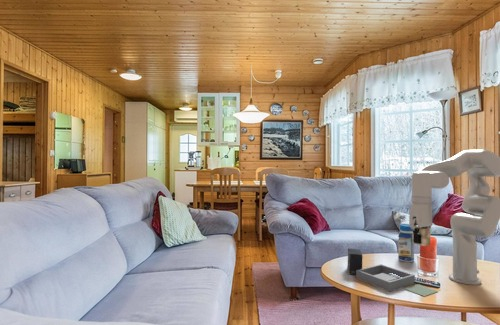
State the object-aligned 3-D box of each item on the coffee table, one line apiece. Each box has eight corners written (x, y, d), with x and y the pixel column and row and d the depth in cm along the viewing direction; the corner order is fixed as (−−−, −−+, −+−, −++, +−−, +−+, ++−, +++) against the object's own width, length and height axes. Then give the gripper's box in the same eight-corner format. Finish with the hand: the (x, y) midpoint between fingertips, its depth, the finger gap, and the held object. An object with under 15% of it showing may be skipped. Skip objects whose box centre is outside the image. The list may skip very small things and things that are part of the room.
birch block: (419, 242, 142) (419, 226, 142) (430, 244, 138) (430, 228, 138) (412, 243, 140) (412, 227, 140) (423, 246, 135) (423, 229, 135)
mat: (417, 284, 145) (417, 284, 145) (438, 291, 137) (438, 291, 137) (404, 289, 140) (404, 288, 140) (424, 296, 132) (424, 296, 132)
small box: (363, 276, 156) (363, 254, 156) (349, 275, 158) (349, 253, 158) (360, 268, 167) (360, 248, 167) (347, 268, 168) (347, 248, 168)
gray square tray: (380, 272, 162) (380, 264, 162) (414, 283, 146) (414, 275, 146) (356, 278, 153) (356, 270, 153) (389, 291, 137) (389, 282, 137)
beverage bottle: (417, 262, 179) (418, 226, 179) (404, 262, 177) (404, 226, 177) (407, 257, 187) (407, 223, 187) (394, 258, 186) (394, 223, 186)
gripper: (424, 198, 146) (424, 238, 146) (401, 200, 138) (401, 242, 138) (441, 200, 140) (441, 241, 140) (418, 202, 131) (417, 247, 131)
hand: (421, 241), depth 139 cm, fingers closed on birch block, 5 cm apart
